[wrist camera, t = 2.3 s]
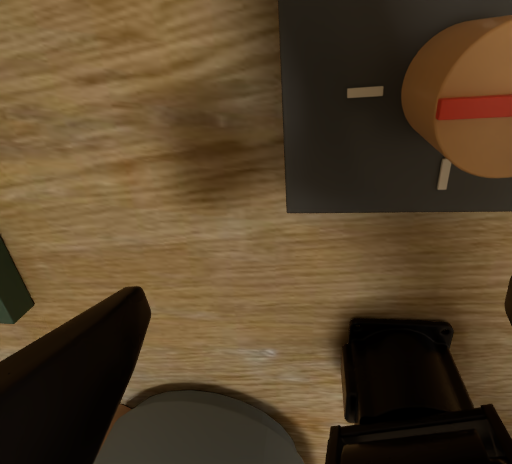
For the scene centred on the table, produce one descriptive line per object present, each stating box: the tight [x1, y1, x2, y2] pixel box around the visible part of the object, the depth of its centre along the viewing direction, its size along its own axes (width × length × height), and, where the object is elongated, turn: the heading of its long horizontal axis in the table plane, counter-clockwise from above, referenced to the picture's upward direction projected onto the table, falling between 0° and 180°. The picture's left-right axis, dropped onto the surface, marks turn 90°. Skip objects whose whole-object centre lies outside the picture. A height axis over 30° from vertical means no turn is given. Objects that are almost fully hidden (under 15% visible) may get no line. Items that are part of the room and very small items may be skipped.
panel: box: [278, 0, 512, 213], centre depth 15 cm, size 14×11×3 cm
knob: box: [401, 15, 512, 178], centre depth 11 cm, size 4×4×5 cm
